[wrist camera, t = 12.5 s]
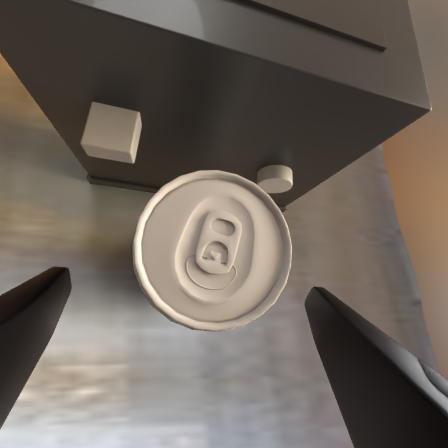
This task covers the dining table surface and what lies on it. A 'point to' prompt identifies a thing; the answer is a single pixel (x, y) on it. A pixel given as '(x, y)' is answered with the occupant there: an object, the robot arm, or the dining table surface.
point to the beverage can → (211, 251)
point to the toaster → (218, 85)
